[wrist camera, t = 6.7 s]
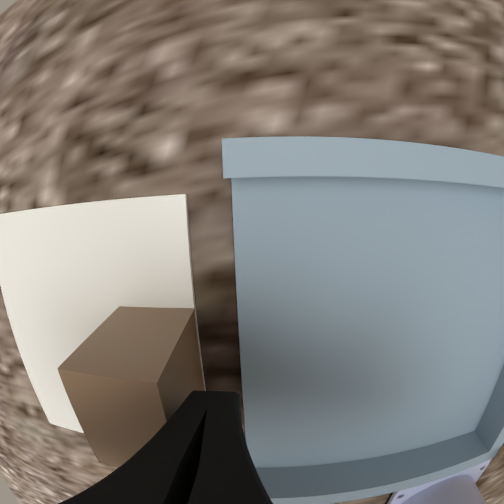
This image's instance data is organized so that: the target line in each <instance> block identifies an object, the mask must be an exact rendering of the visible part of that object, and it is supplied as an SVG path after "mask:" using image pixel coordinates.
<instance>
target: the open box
mask: <svg viewBox="0 0 504 504" xmlns="http://www.w3.org/2000/svg"><path fill="white" fill-rule="evenodd" d="M222 158H223V178H231V181H232V206H233V229H234V251H235V271H236V291H237V309H238V327H239V344H240V361H241V376H242V392H243V407H244V421H245V435H246V444H247V447H248V450H249V453H250V456H251V459H252V461H253V463H254V466H255V468H256V471H257V473H258V475H259V477H260V480H261V482H262V484H263V486H264V488H265V490H266V492H267V494H268V495H269V497H270V499H271V501H272V503H273V504H331V503H338V502H345V501H352V500H358V499H364V498H369V497H374V496H379V495H384V494H388V493H392V492H396V491H401V490H404V489H408V488H412V487H415V486H419V485H422V484H426V483H429V482H432V481H435V480H438V479H441V478H444V477H447V476H450V475H453V474H455V473H458V472H461V471H463V470H466V469H469V468H471V467H473V466H476V465H478V464H481V463H483V462H485V461H487V460H490V459H492V458H494V457H495V456H496V454H497V452H498V451H499V449H500V448H501V446H502V444H503V443H504V157H503V156H498V155H493V154H488V153H483V152H477V151H471V150H465V149H459V148H452V147H445V146H437V145H430V144H421V143H412V142H402V141H391V140H378V139H362V138H342V137H249V138H228V139H222Z"/></svg>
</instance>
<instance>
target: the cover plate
mask: <svg viewBox="0 0 504 504" xmlns="http://www.w3.org/2000/svg"><path fill="white" fill-rule="evenodd" d="M0 286H1V290H2V294H3V298H4V302H5V306H6V310H7V313H8V317H9V320H10V324H11V327H12V330H13V334H14V337H15V340H16V343H17V346H18V349H19V352H20V354H21V357H22V360H23V363H24V365H25V368H26V371H27V373H28V376H29V378H30V380H31V383H32V385H33V388H34V390H35V392H36V395H37V397H38V399H39V401H40V403H41V406H42V408H43V410H44V412H45V414H46V416H47V418H48V420H49V422H50V423H51V424H54V425H57V426H60V427H64V428H67V429H71V430H74V431H78V432H82V433H84V434H85V436H86V438H87V440H88V442H89V444H90V446H91V448H92V450H93V452H94V454H95V455H96V457H97V459H98V461H99V462H100V463H103V464H107V465H111V466H116V467H120V466H121V465H122V464H124V463H125V462H126V461H127V460H129V459H130V458H131V457H132V456H133V455H134V454H135V453H136V452H137V451H138V450H140V449H141V448H142V447H143V446H144V445H145V444H146V443H147V442H148V441H149V440H150V439H151V438H152V437H153V436H154V435H155V434H156V433H157V432H158V431H159V430H160V428H161V427H162V426H163V425H164V424H165V423H166V422H167V421H168V420H169V418H170V417H171V416H172V415H173V414H174V413H175V411H176V410H177V409H178V408H179V407H180V405H181V404H182V403H183V402H184V400H185V399H186V398H187V396H188V395H189V394H190V393H191V392H192V391H193V390H196V391H206V387H205V380H204V372H203V365H202V357H201V349H200V341H199V332H198V323H197V314H196V304H195V294H194V284H193V273H192V261H191V248H190V234H189V219H188V202H187V194H177V195H162V196H149V197H136V198H125V199H114V200H104V201H94V202H85V203H76V204H67V205H59V206H51V207H44V208H37V209H29V210H23V211H16V212H9V213H3V214H0Z"/></svg>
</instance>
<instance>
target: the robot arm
mask: <svg viewBox="0 0 504 504" xmlns="http://www.w3.org/2000/svg"><path fill="white" fill-rule="evenodd" d="M490 461H491V459H490V460H487V461H485V462H483V463H481V464H478V465H476V466H473V467H471V468H469V469H466V470H463V471H461V472H458V473H455V474H453V475H450V476H447V477H444V478H441V479H438V480H435V481H432V482H429V483H426V484H422V485H419V486H415V487H412V488H408V489H404V490H401V491H396V492H394V493H393V494H392V496H391V498H390V500H389V501H388V503H387V504H486V502H485V501H484V499H483V497H482V495H481V493H480V491H479V489H478V487H477V485H476V484H475V483H476V481H477V480H478V479H479V477H480V476H481V474H482V473H483V472H484V470H485V469H486V467H487V466H488V464H489V463H490ZM59 504H273V503H272V501H271V499H270V497H269V495H268V494H267V492H266V490H265V488H264V486H263V484H262V482H261V480H260V477H259V475H258V473H257V471H256V468H255V466H254V463H253V461H252V459H251V456H250V453H249V450H248V447H247V444H246V441H245V437H244V434H243V430H242V423H241V411H240V398H239V394H237V393H236V392H221V391H196V390H193V391H192V392H191V393H190V394H189V395H188V396H187V398H186V399H185V400H184V402H183V403H182V404H181V405H180V407H179V408H178V409H177V410H176V411H175V413H174V414H173V415H172V416H171V417H170V418H169V420H168V421H167V422H166V423H165V424H164V425H163V426H162V427H161V428H160V430H159V431H158V432H157V433H156V434H155V435H154V436H153V437H152V438H151V439H150V440H149V441H148V442H147V443H146V444H145V445H144V446H143V447H142V448H141V449H140V450H138V451H137V452H136V453H135V454H134V455H133V456H132V457H131V458H130V459H129V460H127V461H126V462H125V463H124V464H122V465H121V466H120V467H119V468H117V469H116V470H115V471H113V472H112V473H111V474H109V475H108V476H107V477H105V478H104V479H102V480H101V481H99V482H97V483H96V484H94V485H93V486H91V487H90V488H88V489H86V490H85V491H83V492H81V493H79V494H77V495H76V496H74V497H72V498H70V499H67V500H65V501H63V502H61V503H59Z"/></svg>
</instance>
